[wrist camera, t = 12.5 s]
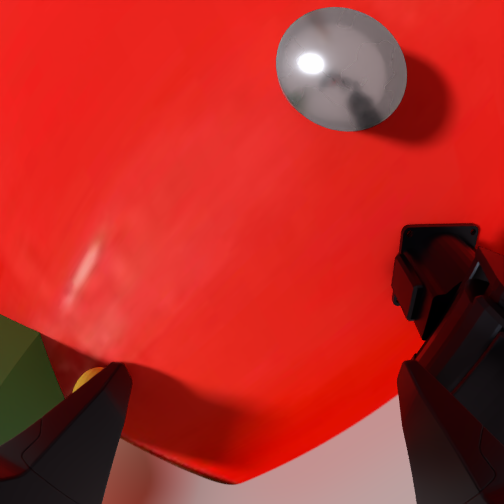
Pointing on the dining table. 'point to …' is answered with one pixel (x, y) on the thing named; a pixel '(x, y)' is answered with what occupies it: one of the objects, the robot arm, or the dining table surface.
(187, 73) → the dining table surface
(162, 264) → the dining table surface
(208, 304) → the dining table surface
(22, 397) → the hardback book
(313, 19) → the steel tin
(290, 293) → the dining table surface
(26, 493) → the robot arm
